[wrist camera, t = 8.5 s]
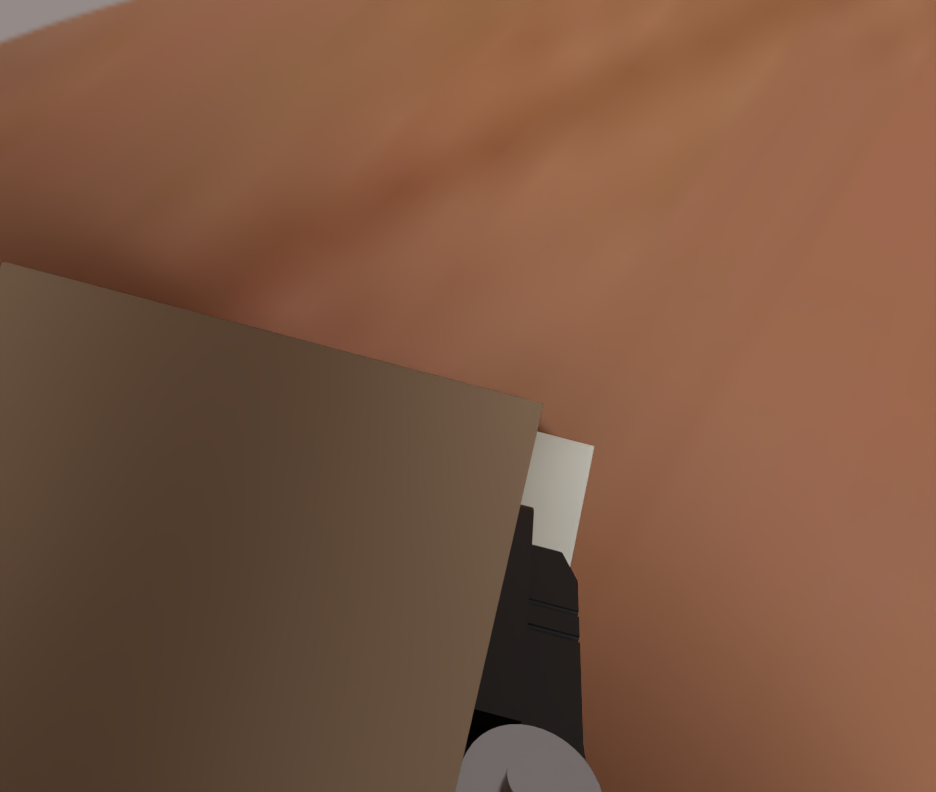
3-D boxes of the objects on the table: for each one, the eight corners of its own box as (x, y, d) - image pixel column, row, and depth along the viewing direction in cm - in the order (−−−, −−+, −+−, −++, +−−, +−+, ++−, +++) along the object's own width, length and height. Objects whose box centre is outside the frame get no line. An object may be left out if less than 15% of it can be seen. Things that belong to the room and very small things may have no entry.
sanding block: (464, 535, 14) (542, 403, 6) (396, 806, 12) (361, 1207, 4) (251, 479, 14) (3, 260, 6) (156, 742, 12) (-394, 1002, 4)
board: (578, 461, 16) (594, 446, 15) (476, 957, 13) (484, 999, 12) (-153, 267, 16) (-207, 234, 15) (-428, 713, 13) (-530, 724, 12)
